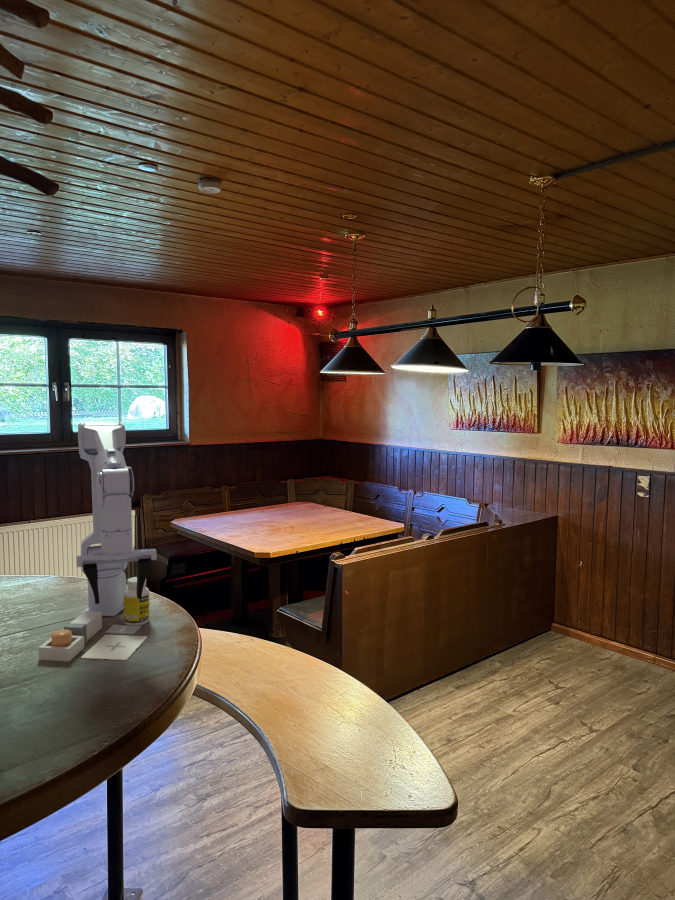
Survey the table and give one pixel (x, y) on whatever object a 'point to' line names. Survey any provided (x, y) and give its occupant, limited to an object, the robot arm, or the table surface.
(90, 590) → the robot arm
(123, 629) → the card
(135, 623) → the supplement bottle
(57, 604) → the table surface
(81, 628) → the grey rectangular prism
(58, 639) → the button
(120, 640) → the paper sheet
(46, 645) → the button box
